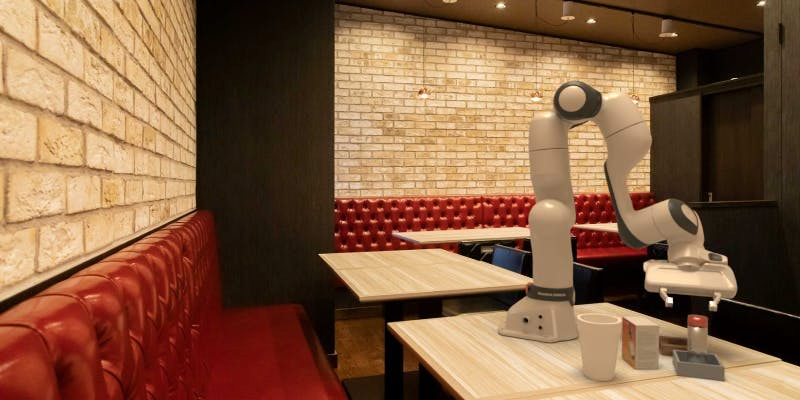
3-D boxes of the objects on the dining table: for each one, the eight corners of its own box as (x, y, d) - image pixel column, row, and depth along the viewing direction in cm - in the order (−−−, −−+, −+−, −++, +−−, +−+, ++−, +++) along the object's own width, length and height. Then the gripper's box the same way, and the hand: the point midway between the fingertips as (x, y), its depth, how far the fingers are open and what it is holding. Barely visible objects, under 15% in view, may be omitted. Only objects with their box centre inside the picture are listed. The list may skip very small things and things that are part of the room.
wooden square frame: (661, 355, 131) (661, 345, 131) (658, 344, 139) (658, 335, 139) (702, 359, 128) (702, 349, 128) (697, 348, 136) (697, 339, 136)
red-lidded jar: (688, 370, 119) (689, 318, 118) (686, 364, 122) (686, 314, 122) (708, 372, 117) (709, 319, 117) (705, 366, 121) (706, 315, 120)
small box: (621, 358, 129) (621, 316, 129) (644, 358, 129) (644, 316, 129) (634, 369, 121) (635, 324, 121) (659, 369, 121) (659, 324, 121)
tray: (677, 375, 117) (677, 361, 117) (672, 362, 126) (672, 349, 126) (724, 381, 114) (724, 367, 114) (716, 367, 122) (716, 354, 122)
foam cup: (597, 386, 111) (598, 326, 111) (567, 372, 120) (568, 316, 119) (630, 379, 115) (631, 321, 115) (599, 366, 124) (599, 311, 123)
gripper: (643, 252, 137) (644, 296, 128) (734, 257, 129) (741, 304, 121) (642, 266, 141) (643, 310, 133) (730, 272, 133) (737, 319, 125)
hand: (690, 307), depth 127 cm, fingers open, 8 cm apart
